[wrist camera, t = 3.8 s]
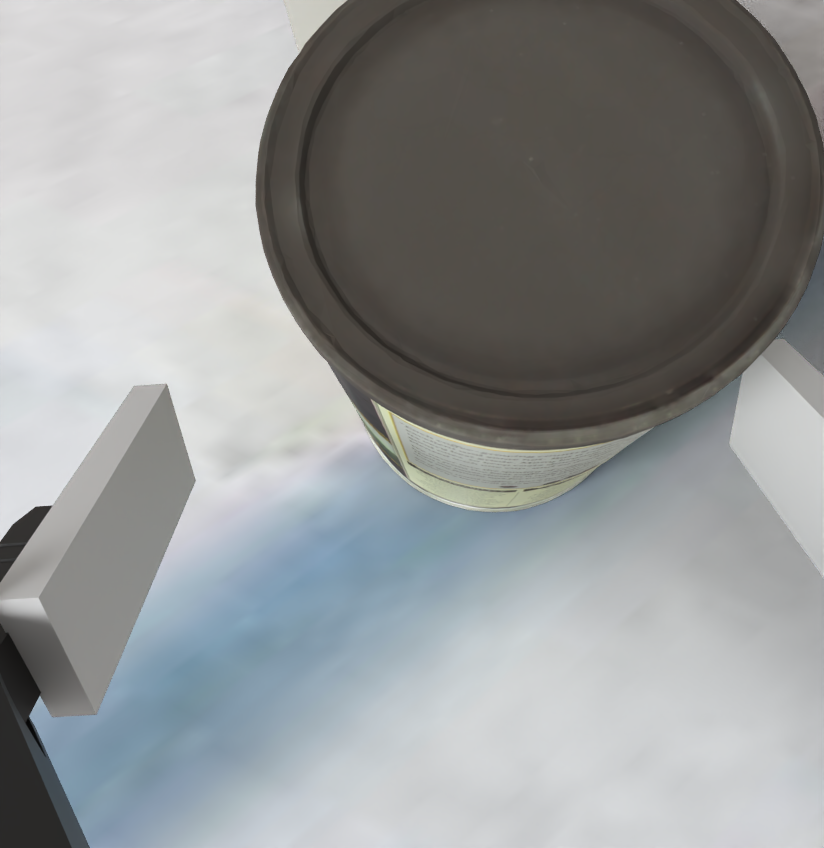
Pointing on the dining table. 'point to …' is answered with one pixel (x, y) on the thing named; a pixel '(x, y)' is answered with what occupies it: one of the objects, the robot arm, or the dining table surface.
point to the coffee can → (537, 224)
